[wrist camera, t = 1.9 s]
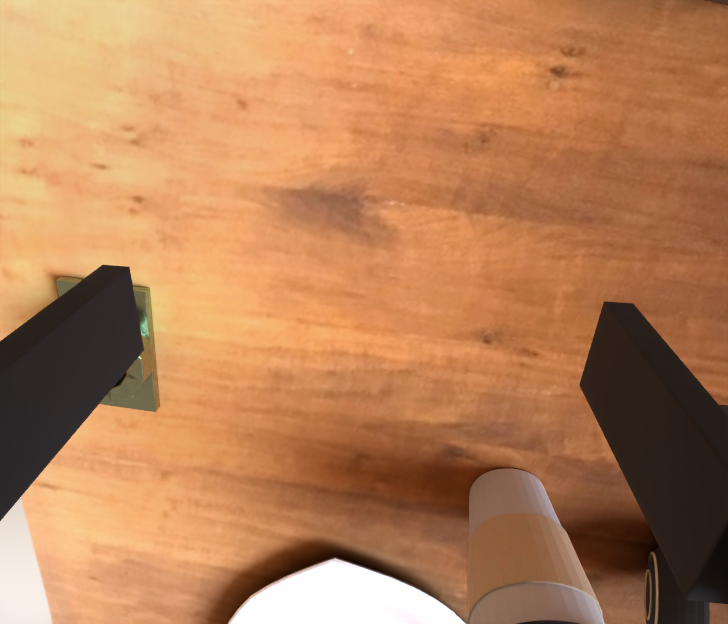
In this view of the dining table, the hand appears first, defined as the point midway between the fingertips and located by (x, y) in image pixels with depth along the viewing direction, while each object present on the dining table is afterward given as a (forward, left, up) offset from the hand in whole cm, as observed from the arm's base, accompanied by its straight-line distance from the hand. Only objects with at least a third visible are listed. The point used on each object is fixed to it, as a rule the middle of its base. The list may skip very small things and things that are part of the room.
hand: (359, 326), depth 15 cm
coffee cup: (+26, -5, -18) cm, 32 cm away
